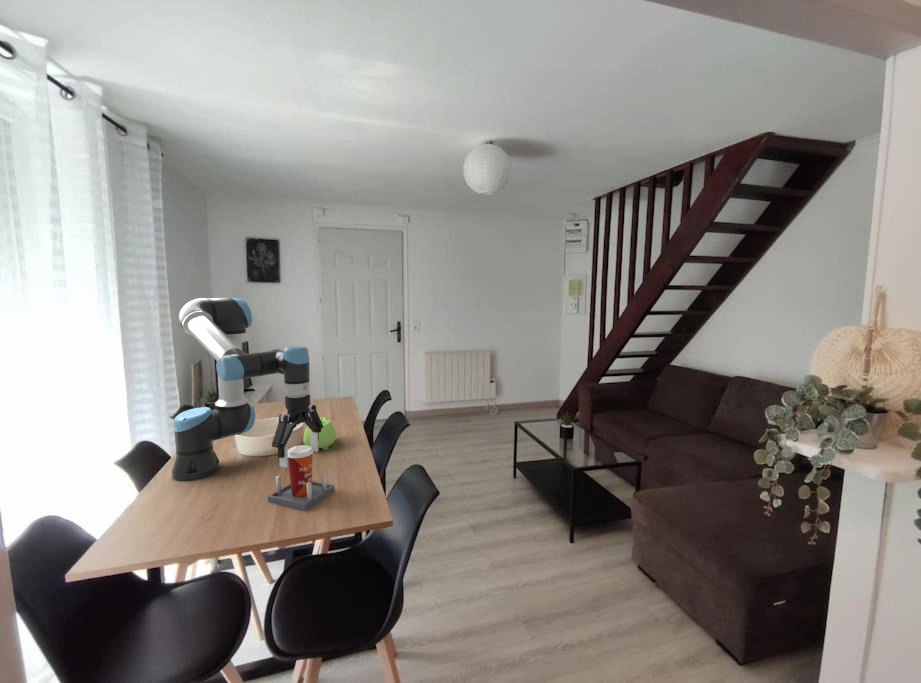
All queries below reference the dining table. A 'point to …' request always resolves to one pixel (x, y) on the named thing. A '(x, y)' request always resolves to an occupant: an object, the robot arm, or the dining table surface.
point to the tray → (301, 503)
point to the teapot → (322, 435)
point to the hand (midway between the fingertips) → (300, 458)
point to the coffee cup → (300, 469)
